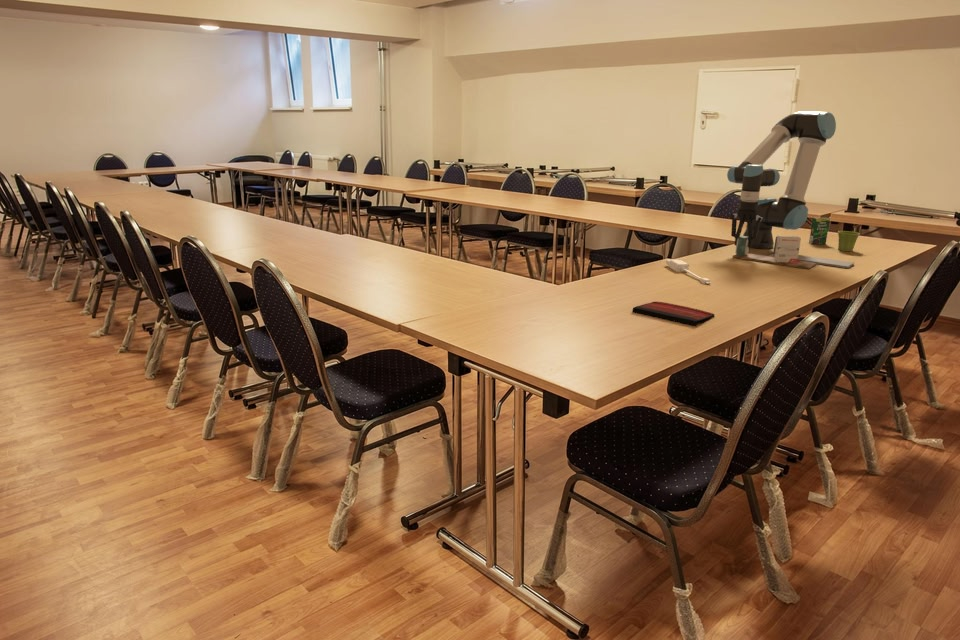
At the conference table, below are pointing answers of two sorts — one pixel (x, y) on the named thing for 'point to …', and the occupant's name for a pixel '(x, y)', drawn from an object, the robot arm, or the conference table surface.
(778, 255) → the ink box
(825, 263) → the grey strip
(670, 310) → the binder
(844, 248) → the plant pot
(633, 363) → the conference table surface
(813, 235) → the coffee box
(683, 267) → the charging cable
